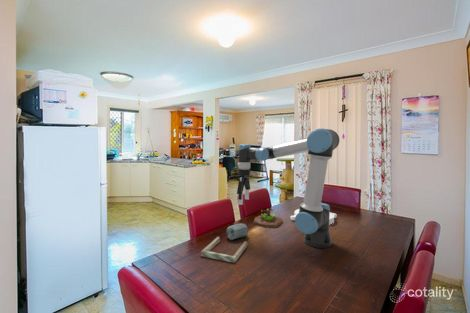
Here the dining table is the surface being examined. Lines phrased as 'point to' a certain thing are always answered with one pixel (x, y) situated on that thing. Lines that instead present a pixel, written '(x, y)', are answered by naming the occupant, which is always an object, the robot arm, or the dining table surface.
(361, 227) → the dining table surface
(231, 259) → the bay
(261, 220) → the plant
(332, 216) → the ring with crossbar
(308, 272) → the dining table surface
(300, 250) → the dining table surface
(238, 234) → the streaked grey egg
